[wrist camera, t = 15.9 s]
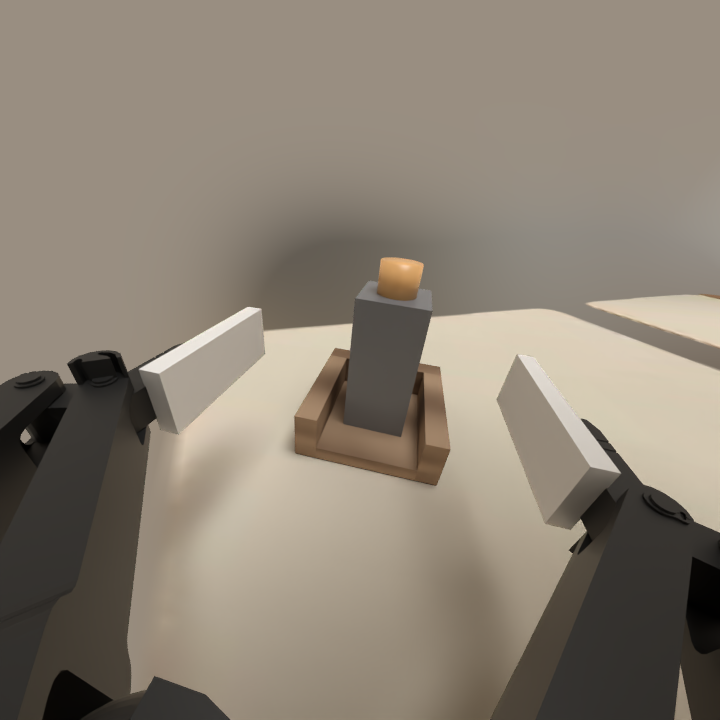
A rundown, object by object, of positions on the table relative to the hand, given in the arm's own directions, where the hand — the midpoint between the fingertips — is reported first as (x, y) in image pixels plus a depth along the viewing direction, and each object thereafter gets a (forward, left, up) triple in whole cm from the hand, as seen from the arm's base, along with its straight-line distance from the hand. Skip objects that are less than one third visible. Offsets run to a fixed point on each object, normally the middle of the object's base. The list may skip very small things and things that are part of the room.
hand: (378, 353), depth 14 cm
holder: (+2, -5, -9) cm, 11 cm away
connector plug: (+2, -5, -8) cm, 10 cm away
